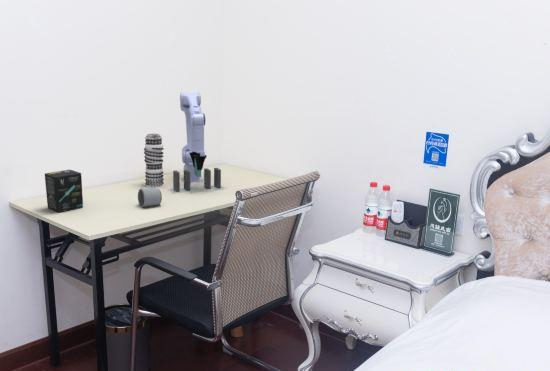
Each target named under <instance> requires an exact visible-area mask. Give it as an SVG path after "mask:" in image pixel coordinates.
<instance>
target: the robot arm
mask: <svg viewBox="0 0 550 371" xmlns="http://www.w3.org/2000/svg"><path fill="white" fill-rule="evenodd" d="M201 95H202V94H201V93H200V92H180V95H179V103H180V104H179V105H180V106H179V107H180V110H181V111H182V112H183V113H184V116H185V127H186V128H185V129H186V130H185V131H186V145H184V146H183V147H182V149H181V161H182V163H183V164H184V165H183V171H184V170H188V171H190V184H191V183H202V182H203V180H201V177H197V176H196V175H195V160H196V165H197V170H201V171H203V169H204V168H203V167H204V164H205V161H206V159H207V154H206V153H205V126H206V120H207V119H206V114H205V113H204V112H203V111H202V108H201V103H202V96H201ZM194 157H195V158H194ZM181 180H182V181H184V177H182V178H181Z"/></svg>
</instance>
